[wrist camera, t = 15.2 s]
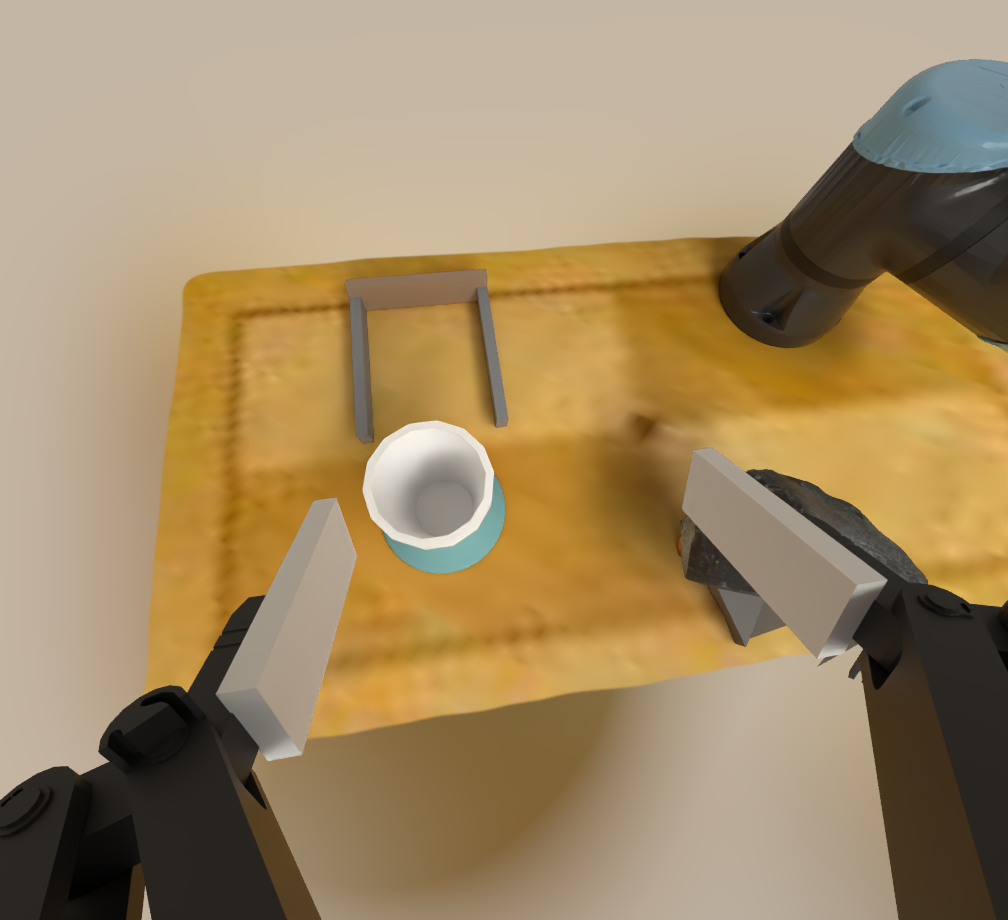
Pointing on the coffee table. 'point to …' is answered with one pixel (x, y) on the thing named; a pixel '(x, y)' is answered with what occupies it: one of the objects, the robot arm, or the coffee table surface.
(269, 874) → the robot arm
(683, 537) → the grey rock
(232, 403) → the coffee table surface
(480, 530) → the teal mat
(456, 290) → the cup lane
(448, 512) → the foam cup
